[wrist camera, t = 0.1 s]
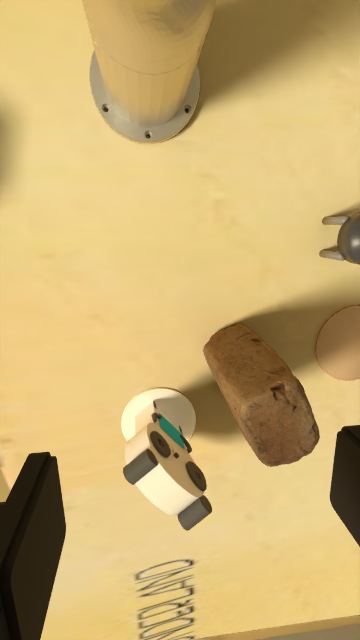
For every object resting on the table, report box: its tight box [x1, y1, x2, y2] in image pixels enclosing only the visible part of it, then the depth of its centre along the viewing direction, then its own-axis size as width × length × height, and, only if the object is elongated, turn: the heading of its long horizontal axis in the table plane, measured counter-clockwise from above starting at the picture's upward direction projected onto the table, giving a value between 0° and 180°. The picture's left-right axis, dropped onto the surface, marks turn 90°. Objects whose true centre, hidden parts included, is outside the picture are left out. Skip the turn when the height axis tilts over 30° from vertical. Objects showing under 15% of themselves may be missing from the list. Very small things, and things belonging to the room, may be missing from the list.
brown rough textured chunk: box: [203, 324, 320, 467], centre depth 41 cm, size 11×8×20 cm
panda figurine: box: [121, 388, 212, 530], centre depth 45 cm, size 12×11×15 cm
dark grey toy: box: [319, 212, 360, 264], centre depth 43 cm, size 6×6×8 cm
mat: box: [316, 305, 360, 381], centre depth 52 cm, size 12×12×1 cm
